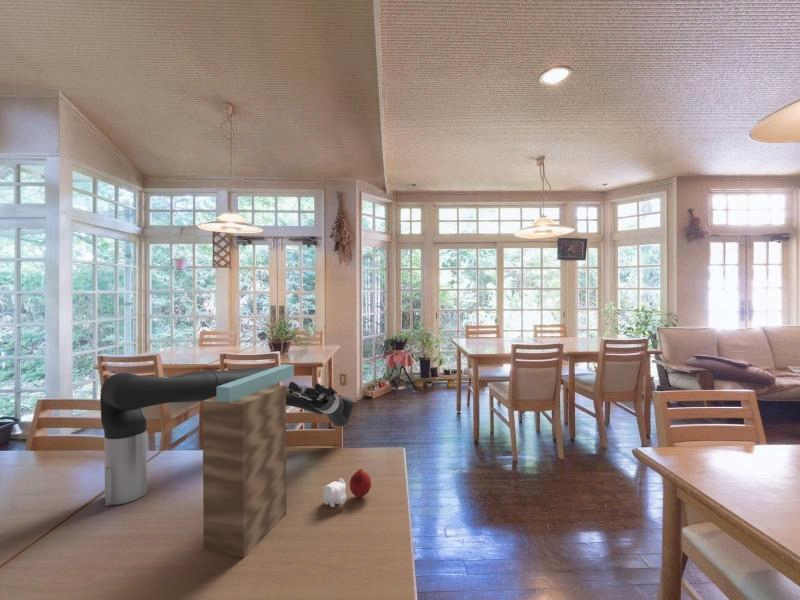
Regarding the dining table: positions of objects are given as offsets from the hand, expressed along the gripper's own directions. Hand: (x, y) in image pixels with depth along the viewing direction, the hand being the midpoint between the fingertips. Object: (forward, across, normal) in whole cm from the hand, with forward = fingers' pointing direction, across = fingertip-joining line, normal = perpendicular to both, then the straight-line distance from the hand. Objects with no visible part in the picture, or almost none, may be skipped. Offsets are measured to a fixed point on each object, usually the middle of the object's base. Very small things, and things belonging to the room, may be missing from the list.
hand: (303, 385), depth 109 cm
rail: (+20, 0, +6) cm, 21 cm away
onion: (-9, +20, +27) cm, 35 cm away
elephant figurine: (-5, +15, +29) cm, 33 cm away
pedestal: (+8, 0, +37) cm, 37 cm away
